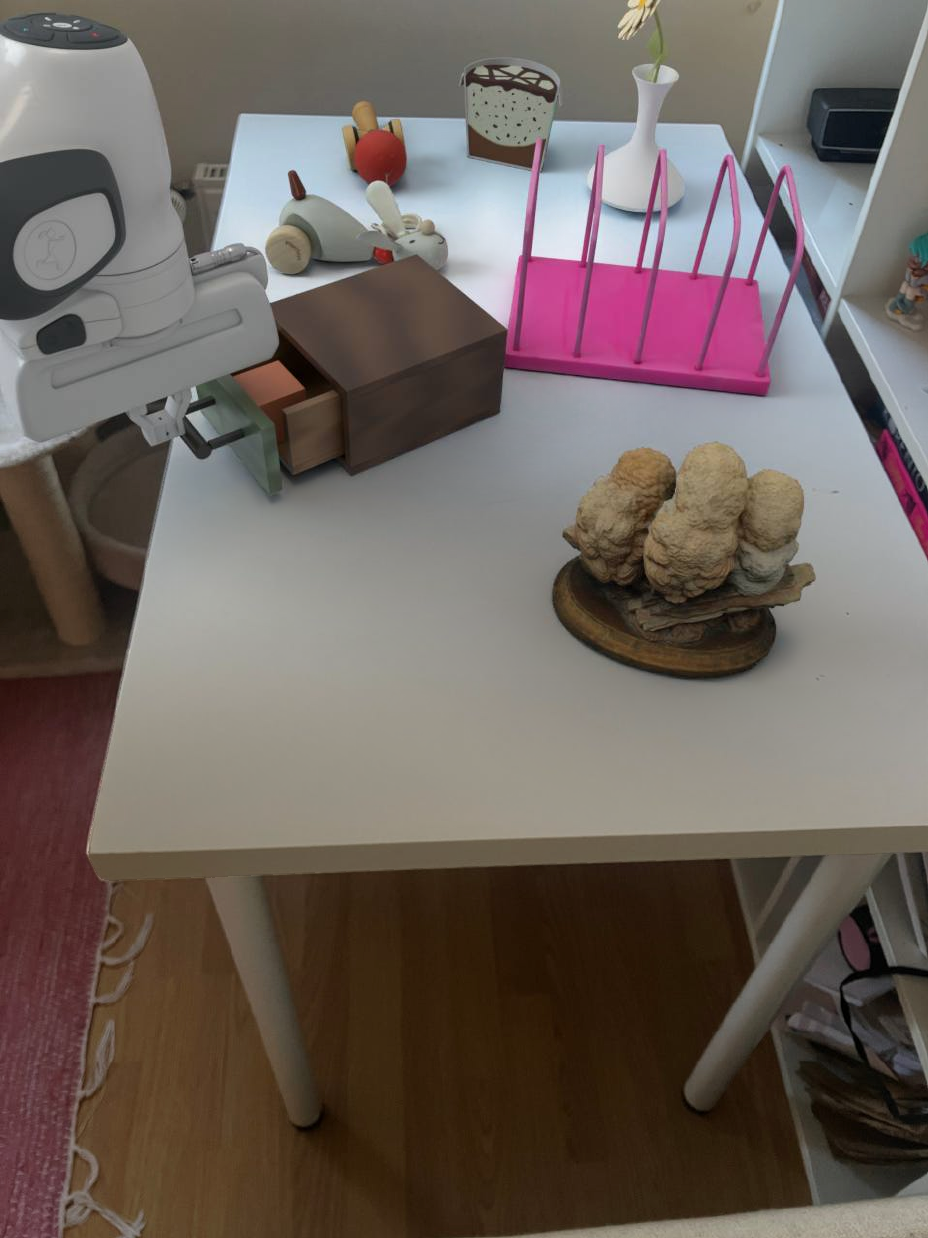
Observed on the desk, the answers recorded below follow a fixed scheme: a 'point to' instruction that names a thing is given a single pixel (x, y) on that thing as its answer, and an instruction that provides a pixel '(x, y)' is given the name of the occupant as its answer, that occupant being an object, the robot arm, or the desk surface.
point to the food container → (509, 110)
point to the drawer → (252, 433)
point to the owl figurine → (683, 562)
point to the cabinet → (398, 356)
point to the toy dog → (349, 232)
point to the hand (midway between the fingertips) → (164, 436)
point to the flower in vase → (642, 125)
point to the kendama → (375, 146)
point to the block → (272, 392)
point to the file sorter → (646, 304)
